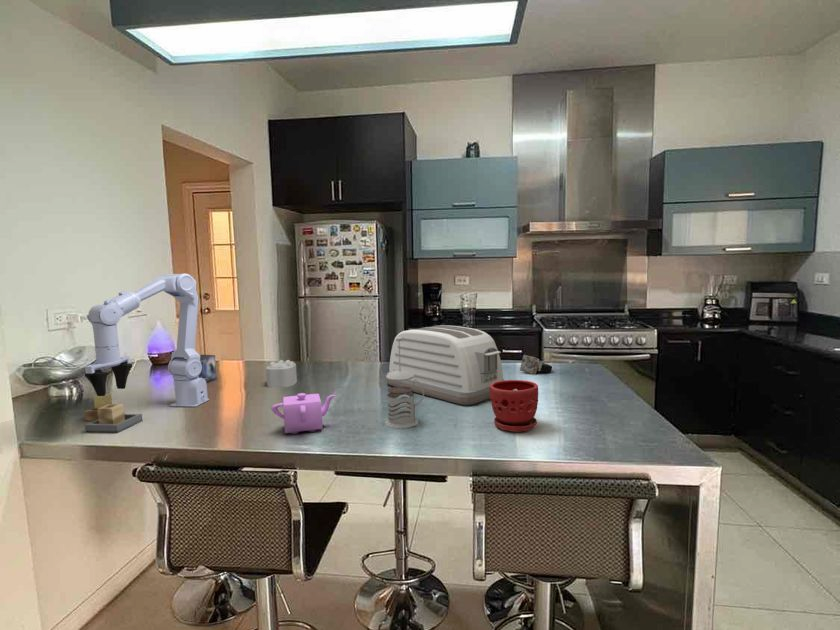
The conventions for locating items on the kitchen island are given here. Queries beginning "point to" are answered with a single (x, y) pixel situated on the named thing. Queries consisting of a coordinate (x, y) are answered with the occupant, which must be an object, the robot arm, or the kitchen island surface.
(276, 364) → the lumpy-topped squat cylinder
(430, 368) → the toaster
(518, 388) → the plant pot
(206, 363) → the small box
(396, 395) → the french press
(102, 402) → the gold rectangular block
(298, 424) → the teapot
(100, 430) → the tray
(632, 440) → the kitchen island surface
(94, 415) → the brown rectangular frame
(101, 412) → the block
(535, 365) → the mottled grey-brown block
